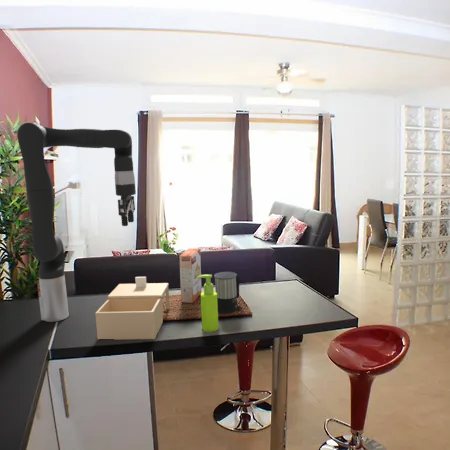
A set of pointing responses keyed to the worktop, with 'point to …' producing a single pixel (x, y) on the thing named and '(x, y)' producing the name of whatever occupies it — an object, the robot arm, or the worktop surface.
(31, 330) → the worktop surface
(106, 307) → the open wooden box
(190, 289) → the cracker box
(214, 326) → the soap dispenser
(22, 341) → the worktop surface
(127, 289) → the wooden box lid
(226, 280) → the milk frother
